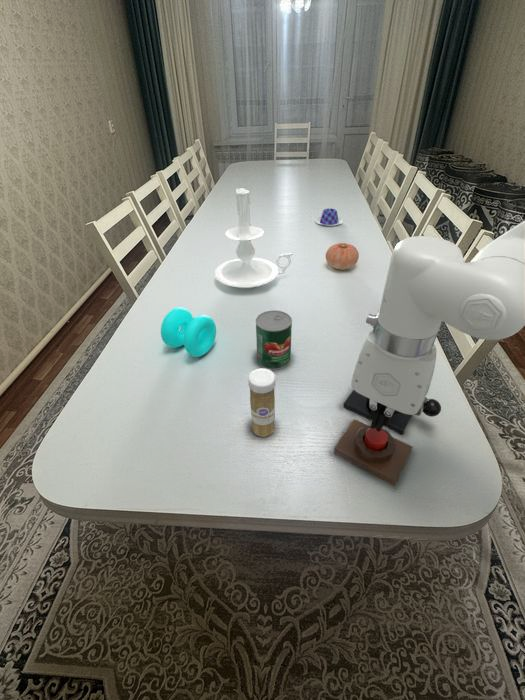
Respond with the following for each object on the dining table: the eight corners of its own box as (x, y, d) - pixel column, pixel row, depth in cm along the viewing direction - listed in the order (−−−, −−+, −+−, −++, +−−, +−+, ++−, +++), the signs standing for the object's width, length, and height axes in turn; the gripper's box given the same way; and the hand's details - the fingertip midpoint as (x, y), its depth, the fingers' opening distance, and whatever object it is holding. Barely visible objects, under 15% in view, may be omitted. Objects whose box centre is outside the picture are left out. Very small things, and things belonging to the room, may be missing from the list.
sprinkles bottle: (255, 440, 66) (252, 388, 58) (248, 422, 69) (245, 370, 61) (278, 434, 67) (279, 382, 59) (271, 416, 70) (270, 364, 62)
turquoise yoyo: (194, 366, 83) (188, 331, 77) (162, 353, 87) (154, 318, 81) (220, 343, 89) (216, 309, 83) (189, 332, 94) (183, 298, 87)
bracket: (417, 405, 72) (433, 360, 65) (402, 434, 66) (418, 389, 59) (361, 381, 78) (370, 337, 70) (343, 407, 72) (350, 362, 65)
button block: (410, 452, 63) (415, 440, 61) (394, 486, 58) (399, 474, 56) (352, 424, 68) (355, 412, 66) (333, 453, 63) (335, 441, 61)
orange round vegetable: (359, 274, 117) (363, 250, 112) (326, 274, 117) (328, 251, 112) (353, 260, 126) (357, 237, 121) (322, 260, 126) (324, 238, 121)
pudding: (342, 227, 150) (344, 215, 147) (314, 226, 152) (314, 214, 149) (342, 218, 160) (344, 206, 156) (315, 217, 162) (316, 205, 158)
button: (389, 439, 62) (391, 433, 61) (381, 454, 59) (383, 447, 58) (369, 430, 63) (370, 423, 62) (360, 444, 61) (362, 437, 60)
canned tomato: (276, 375, 80) (276, 335, 73) (250, 360, 84) (247, 321, 77) (297, 357, 84) (299, 318, 78) (271, 344, 89) (271, 306, 82)
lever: (433, 411, 67) (447, 405, 64) (428, 422, 65) (442, 416, 62) (382, 362, 68) (393, 354, 66) (375, 372, 66) (387, 364, 64)
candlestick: (295, 294, 108) (299, 196, 90) (213, 297, 107) (201, 200, 90) (288, 264, 124) (290, 177, 106) (216, 267, 123) (207, 180, 106)
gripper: (339, 328, 48) (326, 418, 60) (457, 371, 41) (417, 463, 53) (362, 304, 53) (346, 392, 65) (471, 339, 46) (431, 430, 58)
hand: (378, 424), depth 59 cm, fingers closed
